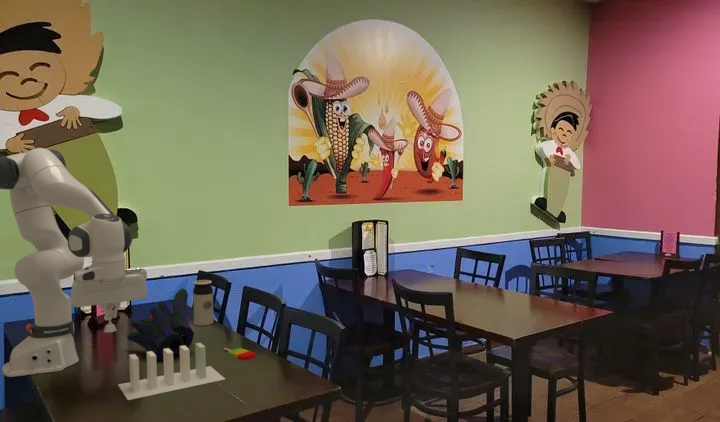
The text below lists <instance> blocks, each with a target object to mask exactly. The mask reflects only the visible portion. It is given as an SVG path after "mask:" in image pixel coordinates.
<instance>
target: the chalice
mask: <svg viewBox="0 0 720 422" xmlns="http://www.w3.org/2000/svg"><path fill="white" fill-rule="evenodd" d="M114 308H115V305H114V303H107V307H105V309H106V310H107V311H112V309H113V310H114ZM112 319H113V318H109V319H107V321H108V323H107V324H106V325H105V326H104V328H103V333H113V332H114V333H115V332H117V327H116V325H115V324H114V323H112Z"/></svg>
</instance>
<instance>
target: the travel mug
mask: <svg viewBox="0 0 720 422" xmlns="http://www.w3.org/2000/svg"><path fill="white" fill-rule="evenodd" d="M212 283H213V282H212V280H209V279H201V280H200V279H198V280H195V281H193V284H194V287H193V289H192V297H193V324H194V325H195V326H199V327H202V326H203V327H204V326H210V325H212V324H214V291H213V289H214V288H213V286H212Z"/></svg>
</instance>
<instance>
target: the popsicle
mask: <svg viewBox="0 0 720 422" xmlns="http://www.w3.org/2000/svg"><path fill="white" fill-rule="evenodd" d="M223 350H225V351H227V355H229V356H230V357H232V358H236V359H239V360H242V361H249V360H251V359H254V358H256V352H255V351H252V350H251V351H250V350H248V349H244V348H242V347H238V348H235V349H230V348H227V347H224V348H223Z"/></svg>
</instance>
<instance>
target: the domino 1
mask: <svg viewBox="0 0 720 422" xmlns="http://www.w3.org/2000/svg"><path fill="white" fill-rule="evenodd" d="M128 356H129V357H128V359H129V382H130V388H131V389H132V390H133V392H134V393H136V392H140V381H139V380H140V359H139V357H138V356H137V355H136V353H132V354H129V355H128Z"/></svg>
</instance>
